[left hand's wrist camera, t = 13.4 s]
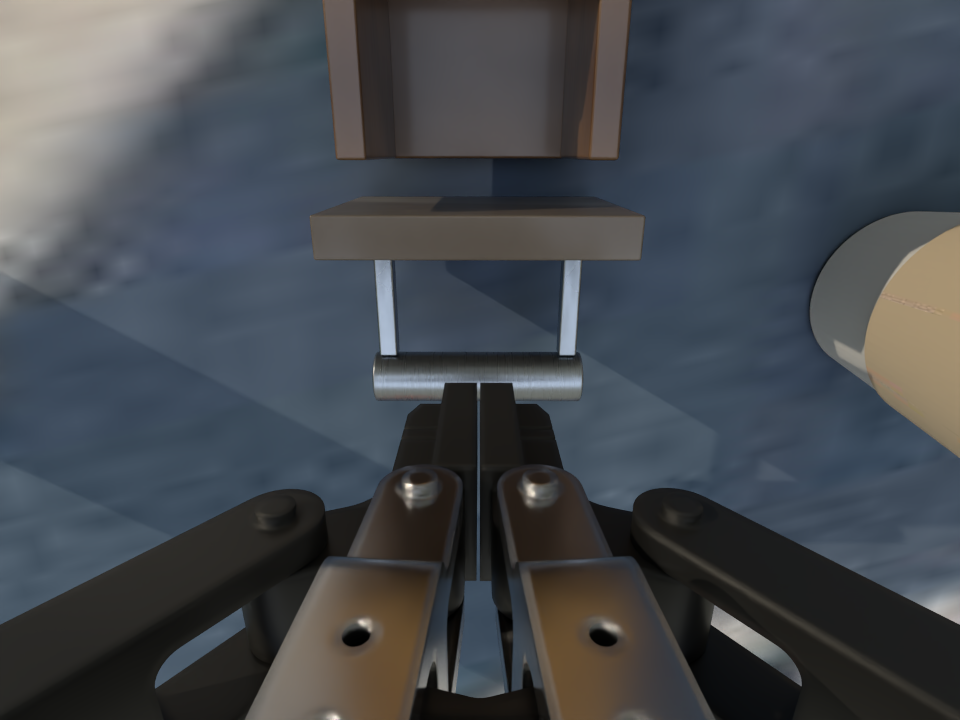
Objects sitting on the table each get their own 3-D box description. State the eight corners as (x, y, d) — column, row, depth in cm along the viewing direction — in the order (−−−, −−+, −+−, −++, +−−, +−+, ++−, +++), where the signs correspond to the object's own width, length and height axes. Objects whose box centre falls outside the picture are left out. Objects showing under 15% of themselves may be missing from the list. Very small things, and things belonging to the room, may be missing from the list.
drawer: (583, 360, 23) (622, 437, 17) (373, 360, 23) (332, 437, 17) (645, -486, 15) (771, -973, 8) (311, -486, 15) (182, -974, 8)
